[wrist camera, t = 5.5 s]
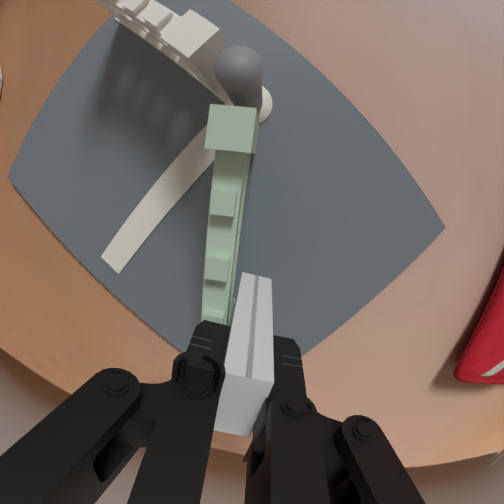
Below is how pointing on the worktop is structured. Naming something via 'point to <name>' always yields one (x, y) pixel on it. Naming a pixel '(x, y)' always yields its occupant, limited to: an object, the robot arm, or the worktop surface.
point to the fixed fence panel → (175, 33)
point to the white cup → (0, 80)
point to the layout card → (200, 182)
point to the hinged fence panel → (229, 174)
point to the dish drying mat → (486, 344)
